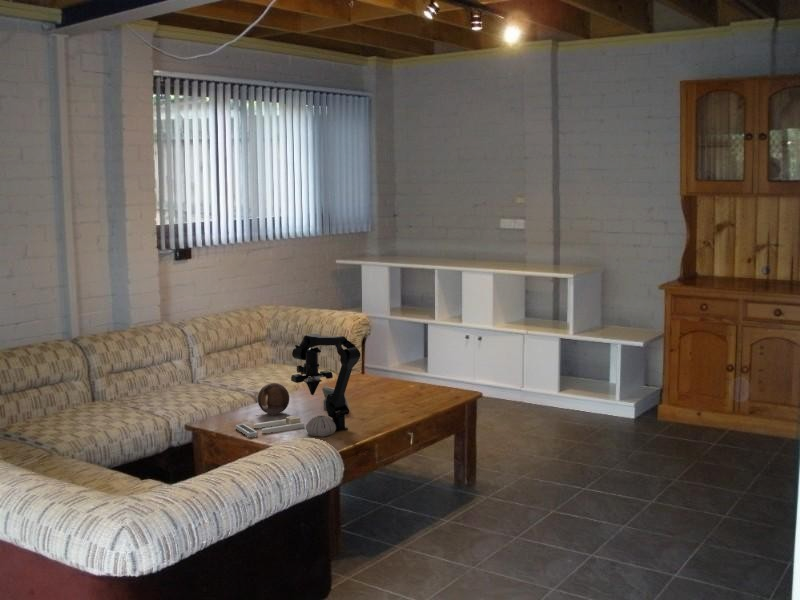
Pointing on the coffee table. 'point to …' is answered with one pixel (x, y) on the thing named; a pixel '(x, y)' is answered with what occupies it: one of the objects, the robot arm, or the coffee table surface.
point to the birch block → (292, 420)
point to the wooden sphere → (273, 398)
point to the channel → (278, 428)
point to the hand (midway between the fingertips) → (312, 394)
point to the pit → (251, 432)
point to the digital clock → (329, 391)
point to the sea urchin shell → (321, 426)
